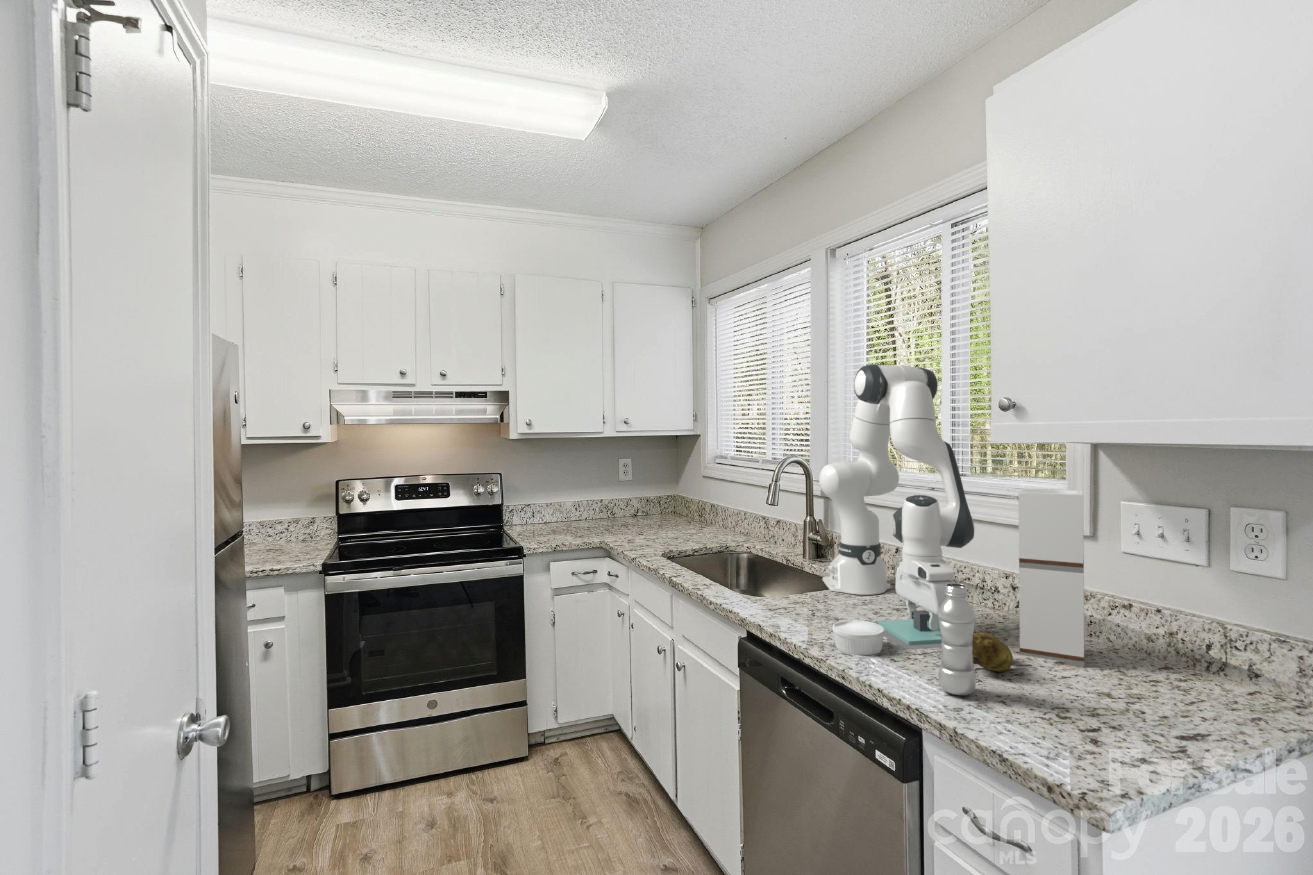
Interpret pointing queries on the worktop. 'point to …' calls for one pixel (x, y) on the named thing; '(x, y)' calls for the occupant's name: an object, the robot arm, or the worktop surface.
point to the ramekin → (858, 637)
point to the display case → (1051, 575)
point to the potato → (991, 653)
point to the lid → (914, 629)
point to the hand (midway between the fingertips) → (922, 623)
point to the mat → (905, 645)
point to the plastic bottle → (957, 641)
